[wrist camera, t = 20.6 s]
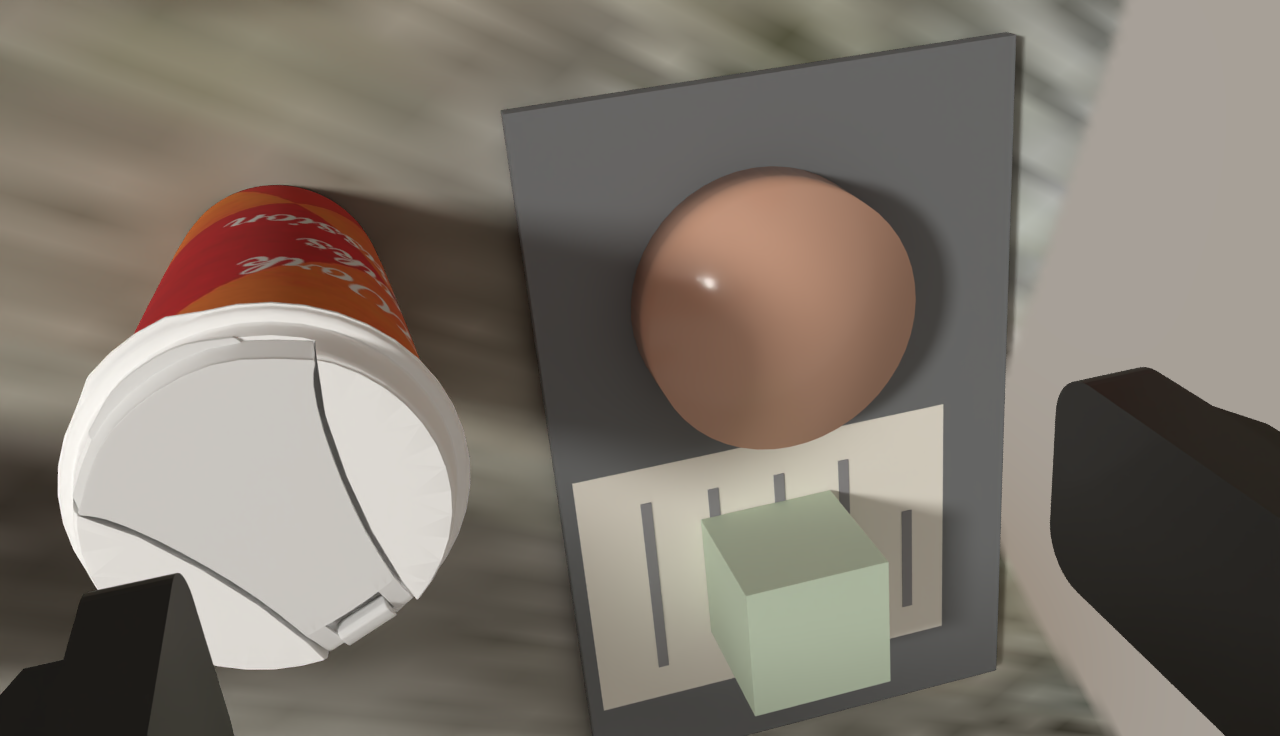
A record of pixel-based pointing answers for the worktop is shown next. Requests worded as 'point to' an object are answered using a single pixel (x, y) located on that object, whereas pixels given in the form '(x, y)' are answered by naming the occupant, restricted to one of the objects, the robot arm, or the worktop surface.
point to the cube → (797, 601)
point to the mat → (746, 478)
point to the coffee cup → (269, 438)
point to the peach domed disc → (772, 307)
